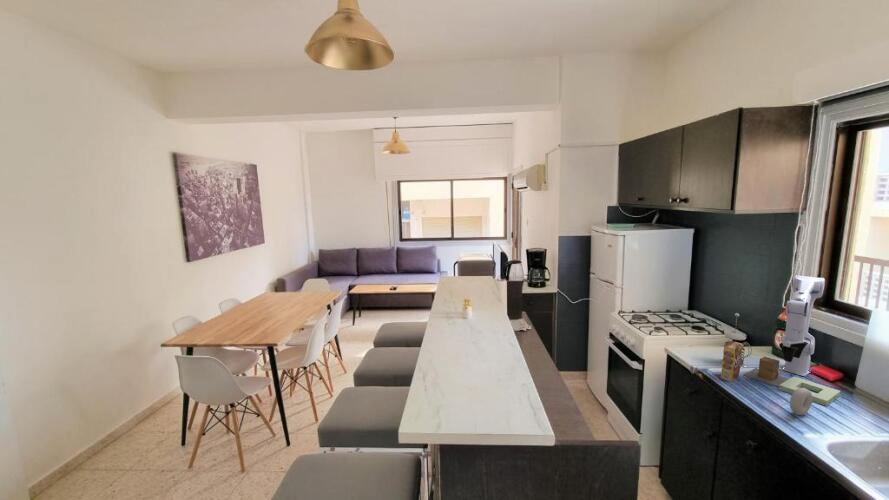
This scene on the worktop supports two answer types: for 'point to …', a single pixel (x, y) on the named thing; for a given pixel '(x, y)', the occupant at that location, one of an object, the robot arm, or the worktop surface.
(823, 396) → the pocket holder
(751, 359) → the worktop surface
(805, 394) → the donut
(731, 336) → the french press
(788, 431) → the worktop surface
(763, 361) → the walnut block
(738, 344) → the candy box
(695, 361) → the worktop surface
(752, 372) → the rubber mat
